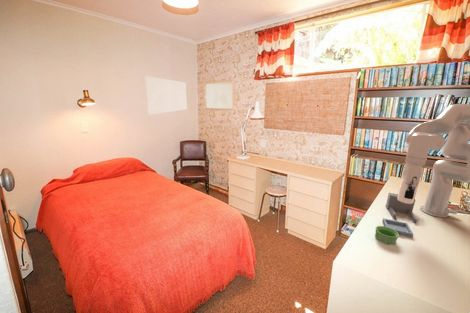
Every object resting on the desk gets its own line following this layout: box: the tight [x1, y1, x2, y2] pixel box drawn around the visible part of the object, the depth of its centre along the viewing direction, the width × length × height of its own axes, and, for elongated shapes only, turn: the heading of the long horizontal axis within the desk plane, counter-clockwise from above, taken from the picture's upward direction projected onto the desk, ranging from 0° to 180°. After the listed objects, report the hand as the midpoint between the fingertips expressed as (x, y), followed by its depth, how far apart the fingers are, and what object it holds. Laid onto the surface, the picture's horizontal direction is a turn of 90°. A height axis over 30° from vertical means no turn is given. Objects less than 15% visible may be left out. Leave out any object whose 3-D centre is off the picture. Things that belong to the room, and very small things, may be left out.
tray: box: [382, 217, 414, 239], centre depth 112 cm, size 11×11×2 cm
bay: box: [385, 192, 418, 224], centre depth 127 cm, size 12×16×9 cm
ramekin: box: [374, 225, 400, 245], centre depth 103 cm, size 9×9×4 cm
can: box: [397, 179, 419, 204], centre depth 108 cm, size 6×6×12 cm
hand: (406, 195), depth 109 cm, fingers closed on can, 6 cm apart
